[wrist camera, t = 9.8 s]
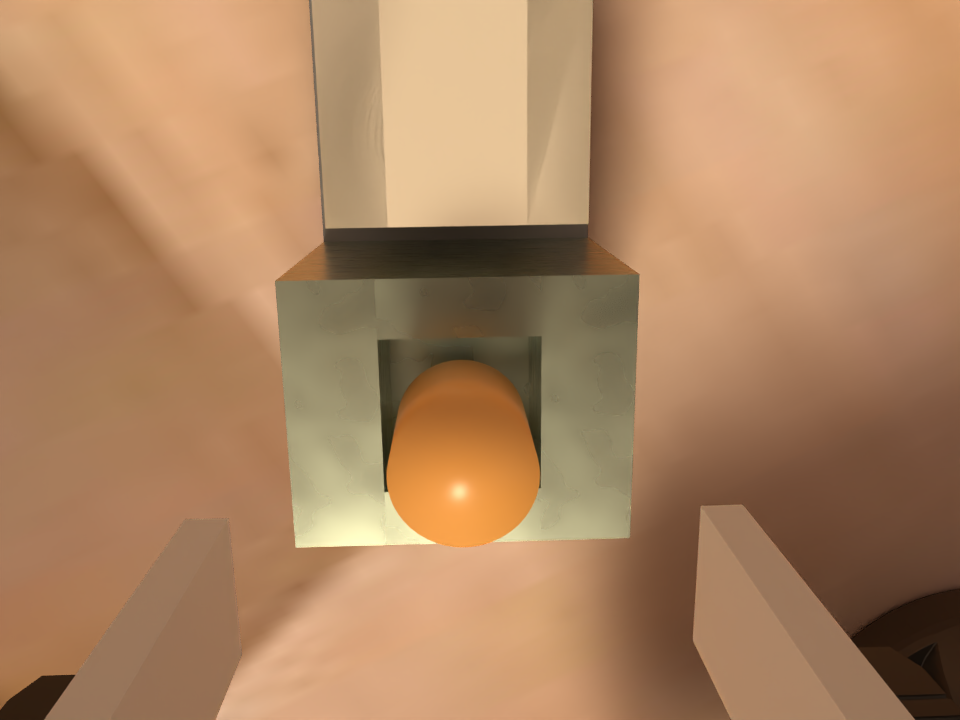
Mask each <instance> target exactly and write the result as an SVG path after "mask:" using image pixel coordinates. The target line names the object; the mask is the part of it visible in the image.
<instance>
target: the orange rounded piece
mask: <svg viewBox="0 0 960 720" xmlns="http://www.w3.org/2000/svg"><path fill="white" fill-rule="evenodd" d="M539 482H540V468H539V462H538V457H537V453H536V450H535V446H534V442H533V439H532V435H531V431H530V428H529V424H528V420H527V417H526V413H525V409H524V406H523V403H522V400H521V397H520V395H519V393H518V391H517V389H516V388H515V387H514V385H513V384H512V383H511V381H510V380H509V379H508V378H507V377H506V376H504V375H503V374H502V373H501V372H499V371H498V370H496V369H495V368H493V367H491V366H489V365H486V364H484V363H480V362H477V361H471V360H452V361H447V362H443V363H440V364H437V365H435V366H433V367H431V368H429V369H427V370H425V371H424V372H422V373H421V374H420V375H419V376H418V377H416V378H415V379H414V380H413V382H412V383H411V384H410V385H409V386H408V388H407V390H406V391H405V393H404V395H403V397H402V399H401V402H400V405H399V409H398V414H397V419H396V424H395V429H394V435H393V440H392V445H391V450H390V455H389V460H388V466H387V487H388V492H389V496H390V499H391V501H392V504H393V506H394V508H395V510H396V511H397V513H398V515H399V516H400V517H401V519H402V520H403V521H404V522H405V523H406V524H407V525H408V526H409V527H410V528H411V529H412V530H414V531H415V532H416V533H418V534H419V535H421V536H422V537H424V538H426V539H428V540H430V541H433V542H435V543H438V544H442V545H446V546H452V547H473V546H479V545H484V544H487V543H490V542H493V541H495V540H497V539H499V538H501V537H503V536H505V535H506V534H508V533H509V532H511V531H512V530H513V529H514V528H516V527H517V526H518V525H519V524H520V523H521V522H522V521H523V520H524V518H525V517H526V516H527V514H528V513H529V511H530V510H531V508H532V506H533V504H534V502H535V499H536V496H537V493H538V489H539Z"/></svg>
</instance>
